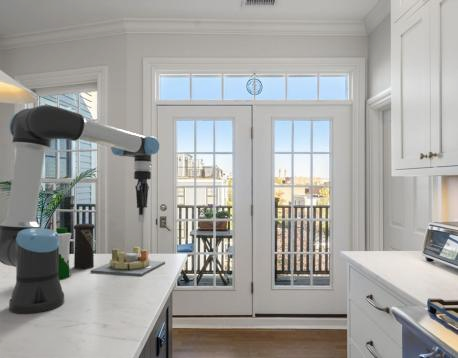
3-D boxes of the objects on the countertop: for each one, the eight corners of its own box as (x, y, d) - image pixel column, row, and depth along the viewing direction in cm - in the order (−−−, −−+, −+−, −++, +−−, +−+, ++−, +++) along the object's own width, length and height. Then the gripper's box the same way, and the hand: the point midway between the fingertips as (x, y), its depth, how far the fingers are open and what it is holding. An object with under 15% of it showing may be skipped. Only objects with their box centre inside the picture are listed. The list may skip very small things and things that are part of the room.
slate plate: (141, 276, 145) (141, 261, 145) (90, 272, 150) (90, 258, 151) (165, 263, 168) (165, 251, 168) (120, 260, 174) (120, 248, 174)
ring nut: (103, 268, 153) (103, 252, 153) (121, 260, 169) (122, 246, 169) (138, 270, 150) (139, 254, 150) (154, 261, 166) (154, 247, 166)
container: (89, 269, 156) (90, 224, 156) (69, 269, 156) (70, 224, 156) (97, 265, 165) (97, 222, 165) (78, 265, 165) (78, 222, 165)
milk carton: (73, 276, 144) (73, 228, 144) (53, 282, 136) (53, 230, 136) (59, 274, 148) (59, 226, 148) (38, 279, 140) (39, 229, 140)
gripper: (146, 170, 155) (145, 223, 155) (154, 171, 168) (153, 220, 168) (129, 170, 156) (128, 223, 155) (139, 171, 169) (138, 220, 168)
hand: (141, 221), depth 161 cm, fingers closed
